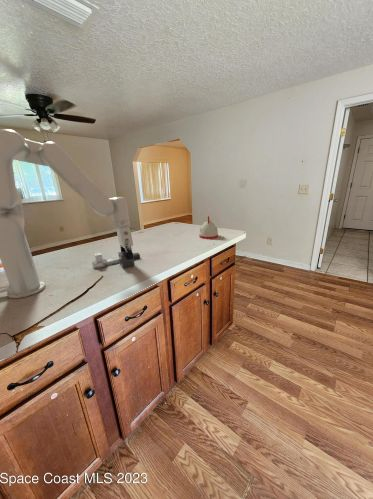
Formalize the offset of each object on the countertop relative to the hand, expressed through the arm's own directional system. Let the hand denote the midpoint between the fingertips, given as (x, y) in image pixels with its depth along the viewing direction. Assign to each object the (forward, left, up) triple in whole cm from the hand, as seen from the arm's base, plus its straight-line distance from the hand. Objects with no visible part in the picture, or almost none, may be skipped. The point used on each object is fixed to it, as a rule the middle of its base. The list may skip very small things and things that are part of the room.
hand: (127, 256), depth 105 cm
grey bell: (+66, +20, -5) cm, 70 cm away
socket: (-1, 0, -5) cm, 5 cm away
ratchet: (-4, +8, -5) cm, 10 cm away
